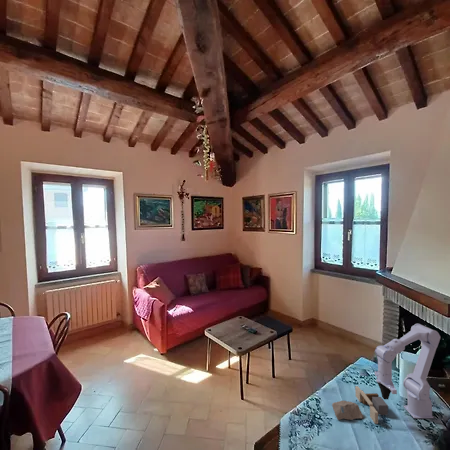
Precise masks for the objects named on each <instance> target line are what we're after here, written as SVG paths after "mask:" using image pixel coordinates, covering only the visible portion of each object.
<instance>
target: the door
mask: <svg viewBox="0 0 450 450" xmlns="http://www.w3.org/2000/svg"><path fill="white" fill-rule="evenodd" d="M365 394H366V396H367V397H368V398H369V400H370V401H371V402H372V397H380V395H379V394H378V393H374V392H373V393H365ZM361 403H362V404H363V405H369V404H368V403H367V401H366V400H365V399H364V397H363V396H362V402H361Z"/></svg>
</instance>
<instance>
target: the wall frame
mask: <svg viewBox="0 0 450 450" xmlns="http://www.w3.org/2000/svg"><path fill="white" fill-rule="evenodd" d="M354 390H355V397H356V398H357V400H358V402H359V403H362V396H363V397H364V399H365V400H366V401H367V403H368V404H367V405H369V417H370V419H371V420H372V422H373V423H374V424H375V425H377V424H379V414H378V412H377V411H376V409H375V408H374V407H373V403H372V402H371V401H370V400H369V398H368V397H367V396H366V394H367V393H366V392H364V391H363V390H361V388H360V387H359V386H358V385H357V386H355V389H354Z"/></svg>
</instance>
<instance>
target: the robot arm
mask: <svg viewBox="0 0 450 450" xmlns="http://www.w3.org/2000/svg"><path fill="white" fill-rule="evenodd" d="M418 340H419V342H420V343H421V344H422V345H421V348H420V350H419V354H418V357H417V361H416V363H415V366H414V369H413V372H412V373H407V374H406V377H405V378H404V379H403V381H402V382H403V384H402V385H403V387H404V389H405V391H406V394H407V405H403V408H404V409H405V410H406V411H407V412H408V413H409V414H410V415H411V416H412V418H414V419H434V416H433V404H432V400H431V399H430V396H431V394H430V393H431V392H430V390H431V386H430V384H429V382H428V381H427V378H428V375H429V373H430V372H429V371H430V369H431V366H432V363H433V359H434V357H435V354H436V351H437V348H438V346H439V343H440V340H441V335H440V333H439V332H438V331H437V330H435V329H432V328H430V327H427V326H425V325H423V324H421V323H415V324H414V325H412V326H411V328H410V331H408V332H407V333H405V334H404V335H403V336H402V337H400V338H398V339H397V338H393V339H391V340H390V341H388V342H387V343H386V344H384V345H377V346H376V348H375V350H374V354H375V355H376V359H377V371H375V370H374V376H376V379H375V382H376V383H377V385H378V387H379V390H380V393H381V396H382V397H381V398H382V399H383V400H389V399H390V395H391V394H392V395H398V391H397V389H396V387H395V384H394V382H393V373H392V372H393V371H392V369H393V367H392V366H393V365H392V364H393V363H392V362H393V361H394V359H395V358H396V357H397V355H398V354H400V353H402V352H403V351H405V349H406V346H408V345H409V344H411V343H414V342H416V341H418Z"/></svg>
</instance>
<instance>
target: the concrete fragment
mask: <svg viewBox="0 0 450 450" xmlns="http://www.w3.org/2000/svg"><path fill="white" fill-rule="evenodd" d="M331 406H332V409H333V411H334V415H335V417H336V419H337V421H339V420H343V419H345V420H351V421H352V420H355V419H364V414H363V412H362V411H361V409H360V407H359V405H358V404H357V403H356V402H352V401H349V400H348V401H347V400H340V401H337V402H336V401H334V402H332V404H331Z"/></svg>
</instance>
